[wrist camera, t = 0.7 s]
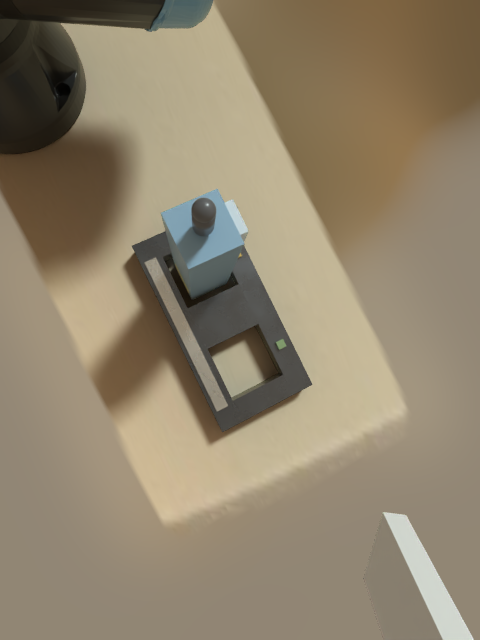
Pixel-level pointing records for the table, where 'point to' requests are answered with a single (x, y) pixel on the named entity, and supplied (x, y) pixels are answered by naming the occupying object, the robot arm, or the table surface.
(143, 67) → the table surface
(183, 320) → the port panel
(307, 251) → the table surface
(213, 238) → the plug
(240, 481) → the table surface
